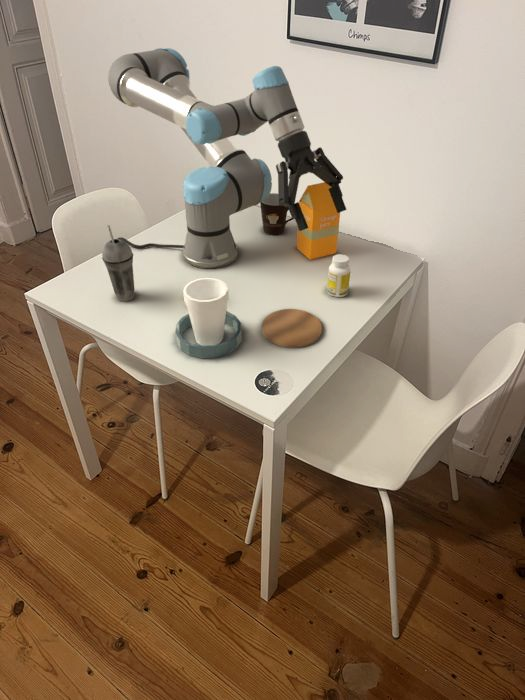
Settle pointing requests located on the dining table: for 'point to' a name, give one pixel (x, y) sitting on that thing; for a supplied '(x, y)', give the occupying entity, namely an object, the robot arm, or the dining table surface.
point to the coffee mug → (273, 215)
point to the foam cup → (207, 309)
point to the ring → (210, 350)
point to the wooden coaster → (291, 328)
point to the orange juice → (318, 222)
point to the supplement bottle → (338, 276)
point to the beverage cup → (119, 267)
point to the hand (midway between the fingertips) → (323, 220)
